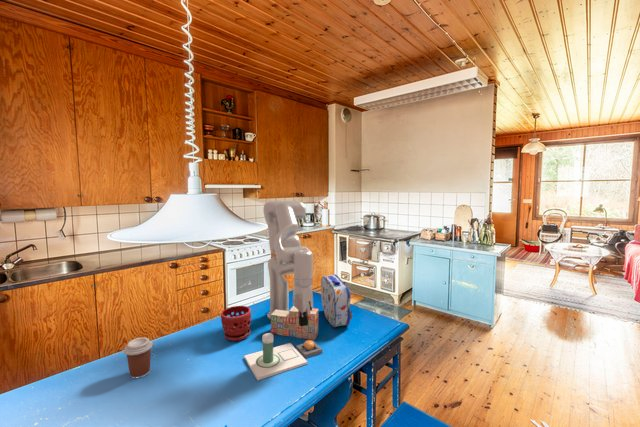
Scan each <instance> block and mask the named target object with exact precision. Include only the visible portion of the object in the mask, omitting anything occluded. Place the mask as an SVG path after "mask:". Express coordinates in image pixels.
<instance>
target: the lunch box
mask: <svg viewBox="0 0 640 427" xmlns="http://www.w3.org/2000/svg"><path fill="white" fill-rule="evenodd" d="M320 296H321V298H320V299H321V305H322V309H323V312H324V316H325V319H326V320H327V321H328V322H329V324H330V325H331V327H332V328H336V327H340V326H341V327H343V326H347V327H348V326H349V325H351V324H350V323H351V320H353V311H352V310H351V297H352V296H351V291H350V287H348V286H347V284H346V283H345V282H344V281H343V280H342V279H341V278H340V277H339V275H337V274H331V275H323V276H322V277H321V281H320Z"/></svg>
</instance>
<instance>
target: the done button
mask: <svg viewBox="0 0 640 427" xmlns="http://www.w3.org/2000/svg"><path fill="white" fill-rule="evenodd" d="M313 341H314V340H310V339H307V340H305V341H304V342H303V343H304V348H305V349H304V350H305V351H311V350H315V349H314V342H315V341H314V342H313Z"/></svg>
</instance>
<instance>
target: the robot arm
mask: <svg viewBox="0 0 640 427" xmlns="http://www.w3.org/2000/svg"><path fill="white" fill-rule="evenodd" d="M262 209H263V216H264V219H265V222H266V224H267V228H268V243H269V250H270V253H272V254H274V255H275V256H273V257H271V258H270V259H269V260H268V261H267V269H268V276H269V310H270V311H268V312H267V314H266V316H267V317H266V318H267V319H268V320H270V321H271V314H272V313H273V312H274V311H275V310H284V311H289V310H290V309H289V304H290V302H289V300H290V299H289V298H290V296H289V282H288V279H287V278H286V277H285V275H292V274H293V288H292V289H293V290H292V305H293V306H295V307H296V308H297V309H298V313H299V315H300V316H299V325H300V326H301V327H302V326H306V325H308V315H311V313H310V311H312V309H313V308H314V295H313V294H314V293H313V283H314V281H313V278H314V277H313V272H314V271H313V269H314V266H313V264H314V261H313V260H314V259H313V258H314V256H313V252H312V251H311V250H310V249H309V248H308V247H307V246H304V245H303V246H301V240H300V238H299V236H298V235H297V233H298V231H299V229H300V226H299V223H298V220H301V219H304V218H305V217H306V214H307V208H306V206H305V204H304V202H302V201H301V200H300V201H299V200H270V201H267V202H265V203H264V204H263V208H262Z"/></svg>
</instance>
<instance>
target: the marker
mask: <svg viewBox="0 0 640 427" xmlns="http://www.w3.org/2000/svg"><path fill="white" fill-rule="evenodd" d="M261 338H262V351H263V362H264V363H271V362H273V348H274V340H275V339H274V334H272V333H271V332H267V333H264V334H263V335H262V337H261Z"/></svg>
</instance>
